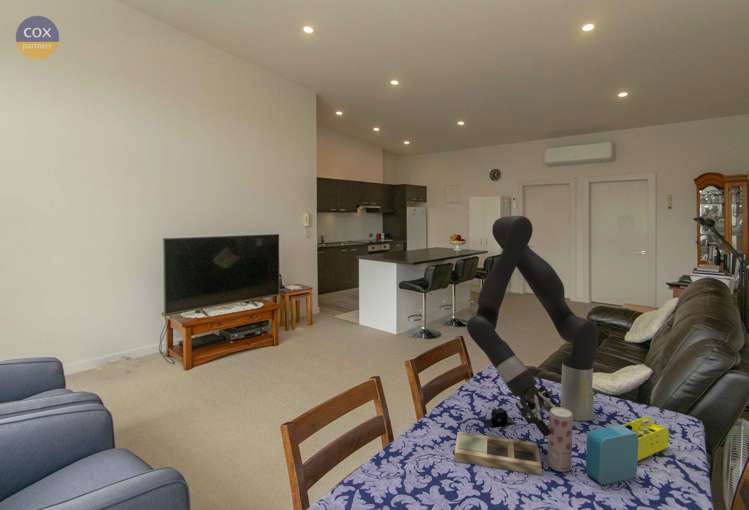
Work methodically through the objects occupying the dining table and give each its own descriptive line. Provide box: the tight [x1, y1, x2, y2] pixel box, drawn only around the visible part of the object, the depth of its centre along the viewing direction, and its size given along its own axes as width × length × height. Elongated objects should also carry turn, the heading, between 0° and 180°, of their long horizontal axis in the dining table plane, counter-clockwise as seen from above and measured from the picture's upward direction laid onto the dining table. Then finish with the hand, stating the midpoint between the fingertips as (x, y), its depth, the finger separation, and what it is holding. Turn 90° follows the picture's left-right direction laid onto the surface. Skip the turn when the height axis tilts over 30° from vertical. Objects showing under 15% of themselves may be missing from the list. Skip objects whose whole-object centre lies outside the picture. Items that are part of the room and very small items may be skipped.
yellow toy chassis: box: [621, 415, 670, 462], centre depth 111 cm, size 16×6×8 cm, turn 116°
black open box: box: [481, 407, 517, 429], centre depth 128 cm, size 12×7×5 cm, turn 106°
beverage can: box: [547, 406, 574, 473], centre depth 104 cm, size 6×6×15 cm
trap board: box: [453, 431, 543, 476], centre depth 109 cm, size 22×11×3 cm, turn 74°
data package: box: [585, 424, 639, 486], centre depth 100 cm, size 12×4×12 cm, turn 106°
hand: (555, 429), depth 105 cm, fingers open, 8 cm apart
